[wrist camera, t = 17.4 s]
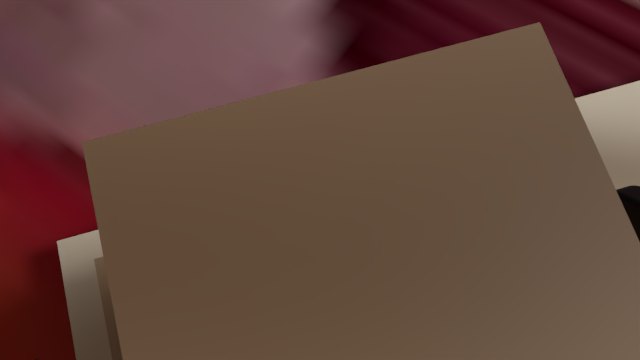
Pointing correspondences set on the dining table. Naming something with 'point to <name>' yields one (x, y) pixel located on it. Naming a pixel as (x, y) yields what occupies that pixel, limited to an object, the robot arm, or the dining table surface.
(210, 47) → the dining table surface
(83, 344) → the birch board
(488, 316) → the block
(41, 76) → the dining table surface
